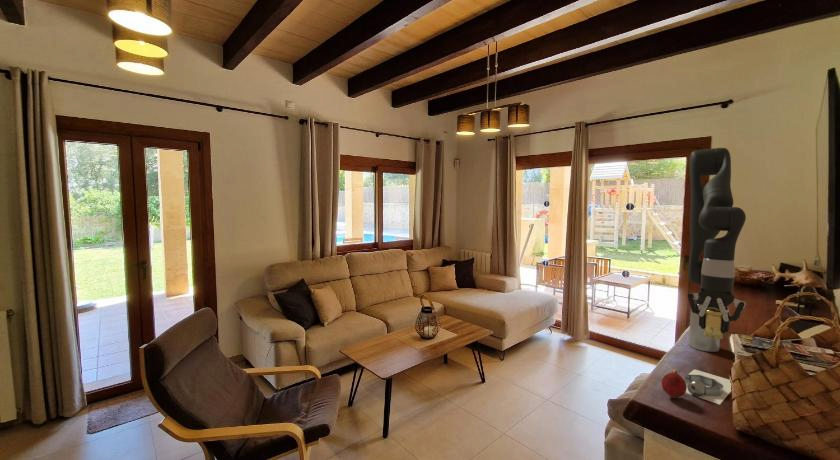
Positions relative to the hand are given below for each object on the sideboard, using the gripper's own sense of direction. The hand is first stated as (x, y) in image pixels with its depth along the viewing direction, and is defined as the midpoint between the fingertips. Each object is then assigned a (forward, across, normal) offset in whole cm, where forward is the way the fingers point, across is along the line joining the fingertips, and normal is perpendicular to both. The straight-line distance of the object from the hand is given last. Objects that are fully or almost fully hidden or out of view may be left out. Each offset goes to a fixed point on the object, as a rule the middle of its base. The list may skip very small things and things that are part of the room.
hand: (713, 330), depth 109 cm
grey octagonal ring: (+16, 0, +8) cm, 18 cm away
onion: (+17, +4, +17) cm, 25 cm away
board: (+17, 0, +3) cm, 17 cm away
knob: (+2, 0, 0) cm, 2 cm away
